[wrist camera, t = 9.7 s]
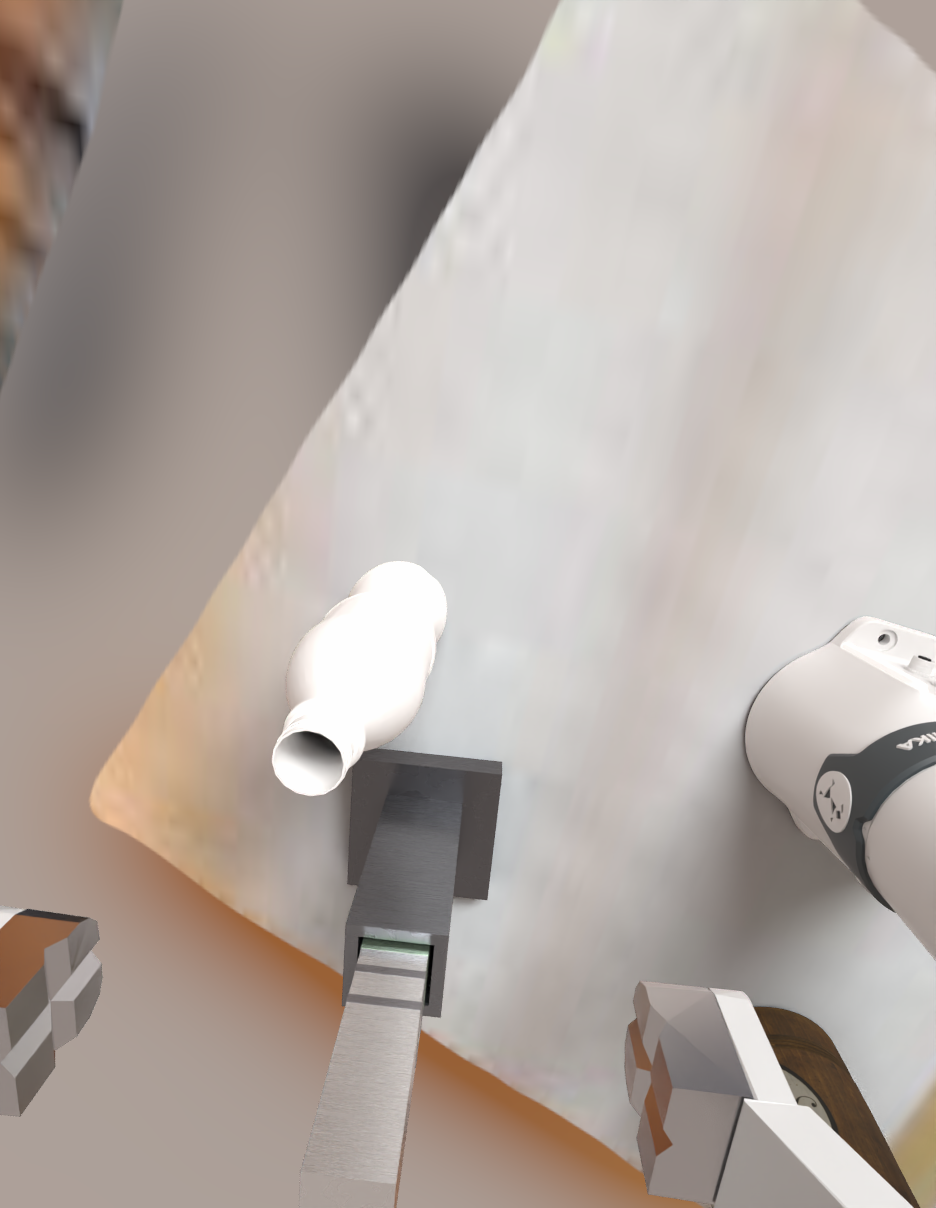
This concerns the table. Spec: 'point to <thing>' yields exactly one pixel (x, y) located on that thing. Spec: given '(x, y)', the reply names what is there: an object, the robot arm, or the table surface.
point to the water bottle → (359, 675)
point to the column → (368, 1082)
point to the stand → (417, 851)
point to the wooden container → (829, 1089)
